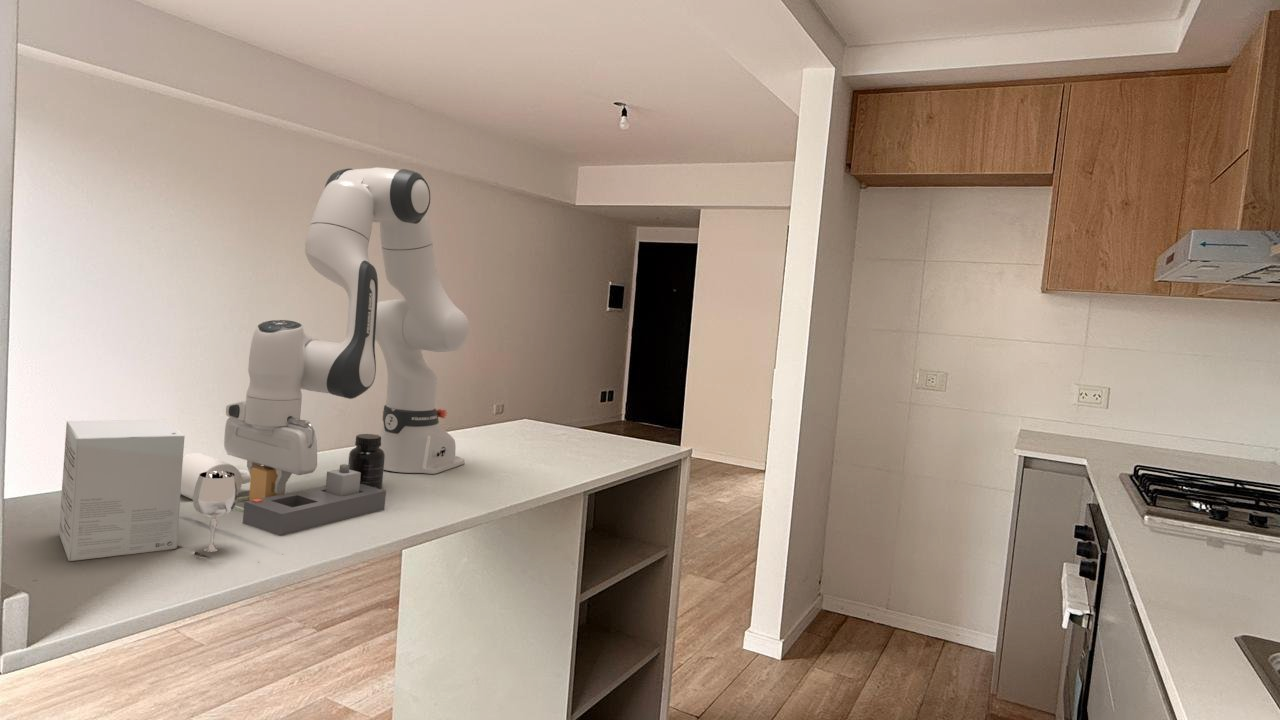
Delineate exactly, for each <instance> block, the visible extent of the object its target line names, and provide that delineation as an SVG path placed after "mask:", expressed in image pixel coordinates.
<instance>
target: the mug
mask: <svg viewBox="0 0 1280 720" xmlns="http://www.w3.org/2000/svg"><path fill="white" fill-rule="evenodd" d="M208 471H227V472H232V473H234V474H235V478H236V483H237V496H238V495H239V493H240V492H241V489H242V485H243V484H248V483H250V481H251V476H250V473H249V470H247V469H246V470H245V469H238V468H237V467H236V466H234V465H233V464H230V463H228V462H225V461H223V460H221V459H217V458H215V457H212V456H210V455H207V454H205V453H202V452H191V453H187V454H185V455H183V464H182V479H181V494H180V496H184V497H185V498H188V499H190V500H192V501H193V493H194V489H195V485H196V482H197V480H198V477H199V474H200V473H203V472H208Z"/></svg>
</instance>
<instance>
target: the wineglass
mask: <svg viewBox="0 0 1280 720" xmlns="http://www.w3.org/2000/svg"><path fill="white" fill-rule="evenodd" d="M237 498H238V495H237V483H236V478H235V474H234V473H232V472H227V471H208V472H203V473H200V474H199V477H198V480H197V482H196V485H195V489H194V493H193V500H192V503H193V507H194V510H195V511H196V512H197V513H198V514H200V515H202V516H203V517H204V516H205V517H208V518H211V519H210V521H209V528H210V541H209V545H208V547H206V548H204V549H203V551H204V552H208V553H213V552H217V551H219V550H220V548H218V547H216V546H215V532H216V529H217V525H218V520H217V518H219V517H223V516H225V515H228V514H229V513H230V512H232V510H233V508H234V507H235V505H236V504H237V502H236V501H237ZM236 506H237V505H236ZM193 556H195V557H196V558H200V559H211V556H208V555H205V554H202V553H199V552H197V551H195V552H194V553H193Z"/></svg>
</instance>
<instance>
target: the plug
mask: <svg viewBox="0 0 1280 720" xmlns="http://www.w3.org/2000/svg"><path fill="white" fill-rule="evenodd" d="M277 477H278V475H277V474H276V469H275V468H272V467H269V466H265V465H261V466H257V467H251V481H250V482H249V494H248V496H249V500H248V501H251V500H254V499H261V498H266V497H271V496H276V495H281V494H286V491H285V492H284V493H279V494H277V493H274V492H272V491H271V488H272V487H271V485H272V482H275V481H276V479H277Z"/></svg>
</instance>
